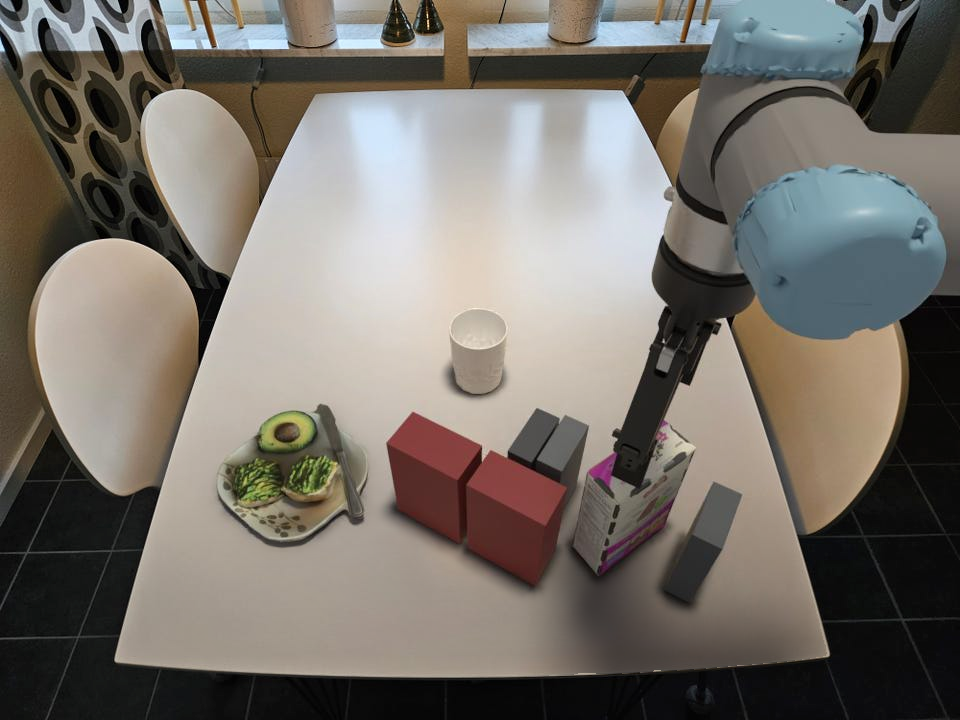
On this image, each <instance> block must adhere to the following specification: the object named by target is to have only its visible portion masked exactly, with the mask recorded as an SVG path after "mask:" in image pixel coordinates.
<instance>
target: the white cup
mask: <svg viewBox="0 0 960 720" xmlns="http://www.w3.org/2000/svg"><path fill="white" fill-rule="evenodd" d="M507 323H508V322H507V321H506V319H505V318H504V317H503V316H502V315H501V314H500V313H499V312H496V311H495V310H492V309H488V308H485V307H473V308H472V307H471V308H468V309H464V310H462V311H460V312H458V313H457V314H456V315H454V316H453V317H452V318H451V320H450V322H449V324H448V333H449V342H450V343H449V344H450V352H451V360H452V367H453V370H454V378H455V382H456V384H457V385H458V387H459V388H460V389H461V390H462V391H465V392H467V393H470V394H472V395H485V394H487V393H489V392H493V391H494V390H495V389H496V388H497V387H498V386H499V385H500V384H501V380H502V377H503V369H504V365H505V360H506V359H505V358H506V351H507V340H508V332H509V327H508V324H507Z"/></svg>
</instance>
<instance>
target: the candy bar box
mask: <svg viewBox="0 0 960 720" xmlns="http://www.w3.org/2000/svg"><path fill="white" fill-rule="evenodd" d="M656 439H657V440H658V441H657V444H656V447H655V450H654V452H653V455H652V458H651V461H650V464H649V466H648V469H647V472H646V475H645V478H644V480H643V483H642V485H641V487H640V489H638V488H636V487H634V486H632V485H630V484H628V483H626V482H624V481H621V480H619V479H617V478H615V477H613V476H611V473H612V470H613V466H614V463H615V459H616V456H617V453H615V452H613V453H611V454H610V455H609V456H607V457H606V458H604V459H602V460H601V461H600V462H598V463H597V464H595V465H593V466H592V467H590V468H589V469H588V470H587V471H586V477H585V482H584V486H583V490H582V496H581V501H580V507H579V512H578V516H577V521H576V525H575V530H574V534H573V535H574V536H573V540H572V548H573V549H574V550H575V551H576V552H577V554H579V556H580V557H582V559H583V560H584V562H586V564H587V565H588V566H589V568H591V570H593V572H594V573H595V574H596V575H597V576H598V577H600V576H601V575H602V574H604V573H605V572H606V571H607V570H609V569H610V568H611V567H613V566H614V565H615V564H617V563H618V562H619V561H620V560H622V559H623V558H624V557H626V556H627V555H628V554H629V553H631V552H632V551H633V550H635V549H636V548H637V547H638V546H640V545H641V544H642V543H644V542H645V541H646V540H648V539H649V538H651V536H653V535H654V534H656V533H657V532H658V531H659V530H661V529H662V528H664V527H665V526H666V523H667V521H668V518H669V516H670V513H671V511H672V508H673V506H674V503H675V501H676V498H677V496H678V493H679V491H680V489H681V487H682V484H683V481H684V479H685V476H686V474H687V472H688V469H689V467H690V465H691V462H692V459H693V457H694V454H695V451H696V450H697V447H696V446H695V445H694V444H693V443H692V442H690V441H689V440H688V439H687V438H685V436H683V435H682V434H681V433H679V431H677V430H676V429H674V428H673V426H672V425H671V423H669V422H668V421H666V420H665V419H664V421H663V423H662V425H661V428H660V430H659V432H658V435H657V437H656Z"/></svg>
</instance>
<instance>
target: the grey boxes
mask: <svg viewBox="0 0 960 720" xmlns="http://www.w3.org/2000/svg"><path fill="white" fill-rule="evenodd" d="M589 428H590V425H589V424H587V423H584V422H582V421H580V420H578V419H575V418H573V417H572V416H569V415H567V414H564V416H563V417H562V419H561V418H560V417H558V416H556V415H554V414H552V413H550V412H548V411H545V410H543V409H540V408H539V407H536V408H535V409H534V411H533V412H532V414H531V415H530V417H529V418H528V420H527V422H526V423H525V424H524V426H523V427H522V429H521V430H520V432H519V433H518V435H517V436H516V437H515V439H514V440H513V442H512V443H511V445H510V447H509V448H508V449H507V455H506V458H508V459H510V460H512V461H514V462H516V463H519V464H521V465H523V466H525V467H527V468H529V469H531V470H533V471H535V472H537V473H539V474H541V475H543V476H545V477H547V478H549V479H551V480H553V481H555V482H557V483H559V484H561V485H563V486H565V487H567V493H566V498H565V503H564V508H563V511H564V509H566V506H567V504H569V503H568V502H569V501H570V499H571V497H572V496H573V494H574V492H575V490H576V488H577V484H578V480H579V476H580V471H581V467H582V461H583V457H584V452H585V448H586V443H587V439H588V433H589ZM704 497H705V498H704V499H703V501H702V503H701V505H700V507H699V509H698V511H697V513H696V515H695V517H694V520H693V521H692V523H691V526H690V527H689V529H688V531H687V533H686V535H685V537H684V539H683V541H682V544H681V546H680V549H679V551H678V554H677V556H676V558H675V560H674V564H673V566H672V568H671V571H670V573H669V576H668V578H667V580H666V583H665V586H664V588H663V590H664V591H666V592H668V593H669V594H672V595H674V596H676V597H677V598H679V599H681V600H683V601H685V602H687V603H689V604H690V603H691V602H692V600H693V599H694V597H695V596H696V594H697V592H698V591H699V589H700V587H701V585H702V584H703V582H704V581H705V579H706V577H707V575H708V574H709V572H710V571H711V569H712V568H713V566H714V564H715V563H716V561H717V560H718V558H719V556H720V555H721V552H722V551H723V550H724V547H725V544H726V541H727V539H728V536H729V533H730V531H731V528H732V525H733V522H734V519H735V516H736V513H737V510H738V508H739V505H740V503H741V500H742V497H743V493H740V492H738V491H736V490H734V489H732V488H730V487H727V486H725V485H723V484H721V483H718V482H716V481H713V482H712V484H711V485H710V488H709V489H708V492H707V493H706V496H704Z"/></svg>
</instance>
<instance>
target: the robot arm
mask: <svg viewBox="0 0 960 720" xmlns="http://www.w3.org/2000/svg"><path fill="white" fill-rule="evenodd" d="M864 31H865V30H864V27H863V24H862V22H861V21H860V20H859V18H858V17H857V16H856V14H854V13H853V12H851V11H850V10H848V9H847V8H845V7H843V6H841V5H839V4H836V3H834V2H831V1H828V0H739V1H737V2H736V3H733V4H732V5H731V6H730V7H729V8H728V9H727V10H726V11H725V12H724V13H723V15H722V16H721V18H720V19H719V21H718V24H717V27H716V29H715V32H714V36H713V39H712V41H711V45H710V48H709V51H708V54H707V57H706V60H705V62H704V63H703V64H702V66H701V70H700V73H701V74H702V76H701V80H700V84H699V88H698V91H697V96H696V100H695V104H694V108H693V112H692V116H691V120H690V124H689V128H688V132H687V135H686V140H685V144H684V147H683V152H682V156H681V159H680V163H679V167H678V172H677V176H676V179H675V186H671V185H669V186H668V187H666V189H665V190H664V192H663V199H664V200H665V201H668V202H671V206H669V209H668V211H667V214H666V219H665V223H664V227H663V233H662V235H661V237H660V240H659V243H658V247H657V251H656V254H655V258H654V262H653V266H652V270H651V283H652V286H653V289H654V291H655V293H656V294H657V295H658V297H659V298H660V299H661V301H663V302H664V304H666V305H665V306H664V307H663V309H662V311H661V314H660V316H659V319H658V322H657V326H658V330H657V332H656V335H655V337H654V339H653V341H652V343H651V344H650V345H649V347H648V350H649V352H648V355H647V358H646V362H645V365H644V368H643V371H642V373H641V375H640V379H639V382H638V384H637V387H636V389H635V392H634V395H633V398H632V400H631V402H630V405H629V408H628V411H627V413H626V415H625V418H624V421H623V424H622V426H621V429H619V428H617V427H616V428H615V429H613V430H612V433H611V437H613V438H616V439H617V440H615V441H614V443H613V448H612V452H613V453H614V452H615V453H617V456H616V459H615V463H614V466H613V470H612V473H611V476H613V477H615V478H617V479H619V480H621V481H624V482H626V483H628V484H630V485H632V486H634V487H636V488H638V489H640V487H641V485H642V483H643V480H644V478H645V475H646V472H647V469H648V466H649V464H650V461H651V458H652V455H653V452H654V450H655V447H656V444H657V441H658V440H657V439H656V437H657V435H658V432H659V430H660V428H661V425H662V423H663V421H664V420H665V418H666V416H667V413H668V411H669V408H670V406H671V404H672V402H673V399H674V397H675V395H676V392H677V390H678V388H679V385H680V383H681V384H683V385H686V386H688V387H690V386H691V384H692V382H693V380H694V378H695V375H696V372H697V369H698V367H699V364H700V361H701V359H702V356H703V353H704V351H705V349H706V346H707V343H709V341H710V340H711V339H710V338H711V336H712V335H714V336H718V334H719V332H720V330H721V327H722V325H723V323H722V322H720V321H719V320H720V319H726V318H727V319H728V318H732V317H734V316H738V315H739V314H741V313H742V312H744V311H745V310H747V309H749V307H750V306H751V305H752V303H753V302H754V299H755V297H757V299H758V301H759V304H760V306H761V308H762V310H763V311H764V312H765V314H766V315H767V316H768V318H769V319H770V320H771V321H772V322H774V323H775V324H776V326H778V327H780V328H782V329H784V330H785V331H787V332H788V333H791V334H793V335H796V336H799V337H802V338H806V339H813V340H821V341H838V340H844V339H845V340H846V339H849V338H850V337H851V335H853V334H855V333H856V332H860V331H862V330H866V329H868V330H870V331H873V332H876V331H879V330H882V329H884V328H886V327H889V326H891V325H893V324H895V323H897V322H899V321H900V320H902V319H903V318H905V317H906V316H908V315H909V314H911V313H913V311H915V310H916V309H917V308H919V307H920V306H921V305H922V304H923V303H924V302H925V301H926V300H927V298H929V296H960V134H936V133H934V134H933V133H932V134H931V133H889V132H888V133H886V132H876V131H872V130H870V129H869V128H868V126H867V125H866V124H865V122H864V121H863V120H862V118H861V117H860V116H859V115H858V113H857V112H856V111H855V109H854V108H853V107H852V105H851V104H850V101H849V100H848V99H847V98H846V97H845V89H846V87H847V85H848V84H849V82H850V81H851V79H853V78H854V77H855V74H856V72H857V70H856V66H857V62H858V58H859V55H860V52H861V50H862V49H861V48H862V46H863V41H864V40H865V39H864ZM663 341H664V342H663Z"/></svg>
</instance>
